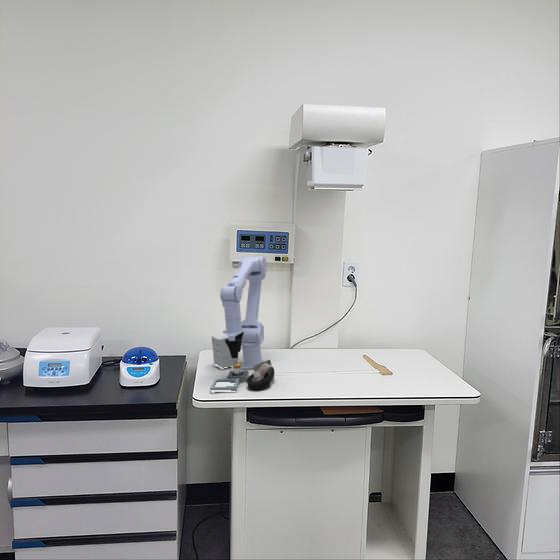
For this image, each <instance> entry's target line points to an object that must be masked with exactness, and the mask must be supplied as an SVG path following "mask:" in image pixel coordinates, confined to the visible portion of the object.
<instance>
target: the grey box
mask: <svg viewBox="0 0 560 560" xmlns="http://www.w3.org/2000/svg"><path fill="white" fill-rule="evenodd" d="M225 339H229V336H228V335H227V334H226V333H223V332H222V333H220V334H216V335H211V344H212V345H211V346H212V355H213V364H214V363H215V364H217V365H218V366H220V367H222V368H224V367H231V366H233V363H235V362H239V361H238V358H232V357H231V354H230V351H229V348H228V346H227V344H226V343H225ZM231 368H232V367H231Z"/></svg>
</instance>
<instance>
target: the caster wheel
mask: <svg viewBox="0 0 560 560" xmlns="http://www.w3.org/2000/svg"><path fill="white" fill-rule="evenodd" d="M253 368H254V369H253V372H252V373H251V374H250V375H249V376H248V378H247V382H246V384H247V387H248V389H249V390H250V391H253V392H254V391H255V392H256V391H257V392H259V391H262V390H264V389H266V388H268V387H270V386H272V385H273V383H274V382H275V369H274V367H273V366H272V361H271V359H268V360H265V361H264V362H262V363H260V364H257V365H255V366H253Z"/></svg>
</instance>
